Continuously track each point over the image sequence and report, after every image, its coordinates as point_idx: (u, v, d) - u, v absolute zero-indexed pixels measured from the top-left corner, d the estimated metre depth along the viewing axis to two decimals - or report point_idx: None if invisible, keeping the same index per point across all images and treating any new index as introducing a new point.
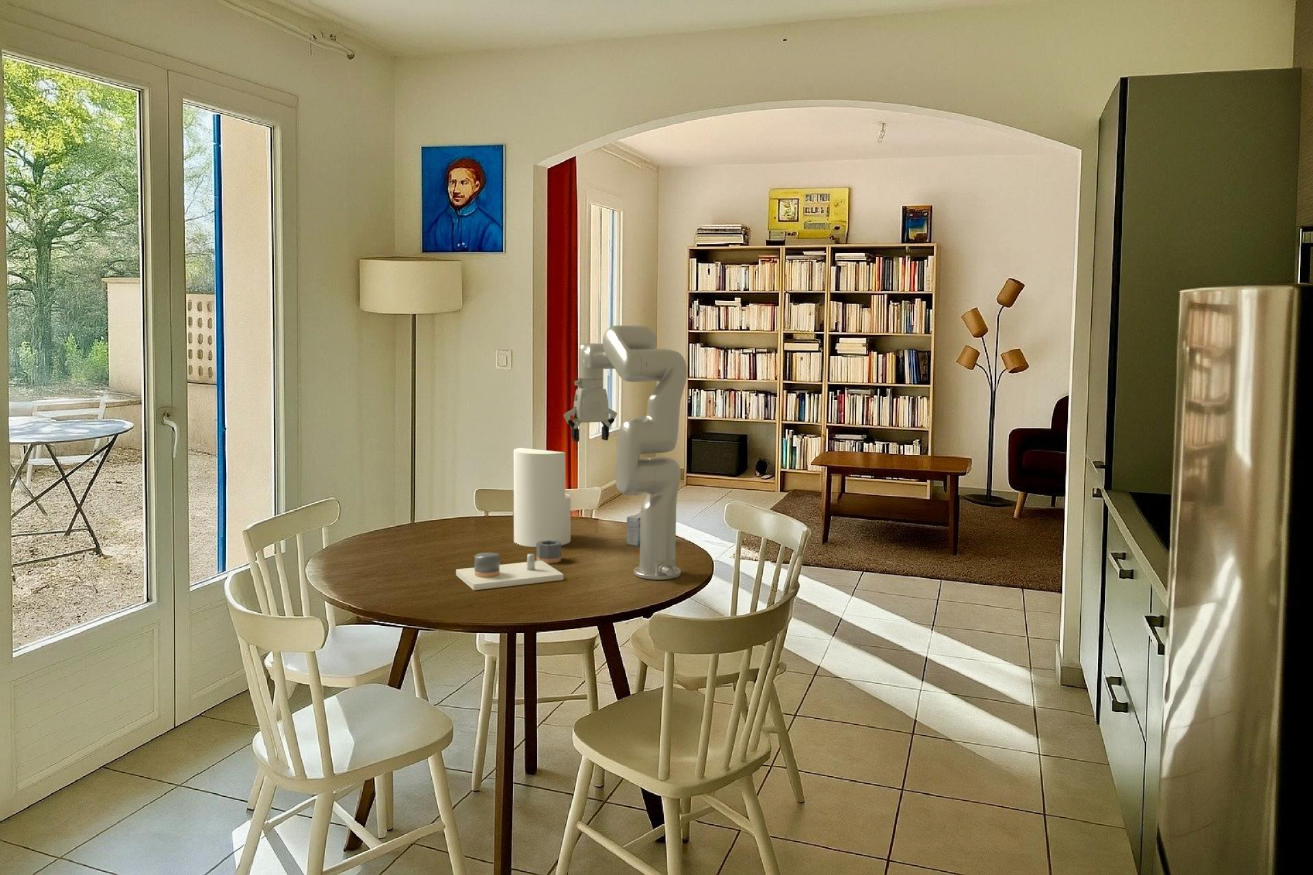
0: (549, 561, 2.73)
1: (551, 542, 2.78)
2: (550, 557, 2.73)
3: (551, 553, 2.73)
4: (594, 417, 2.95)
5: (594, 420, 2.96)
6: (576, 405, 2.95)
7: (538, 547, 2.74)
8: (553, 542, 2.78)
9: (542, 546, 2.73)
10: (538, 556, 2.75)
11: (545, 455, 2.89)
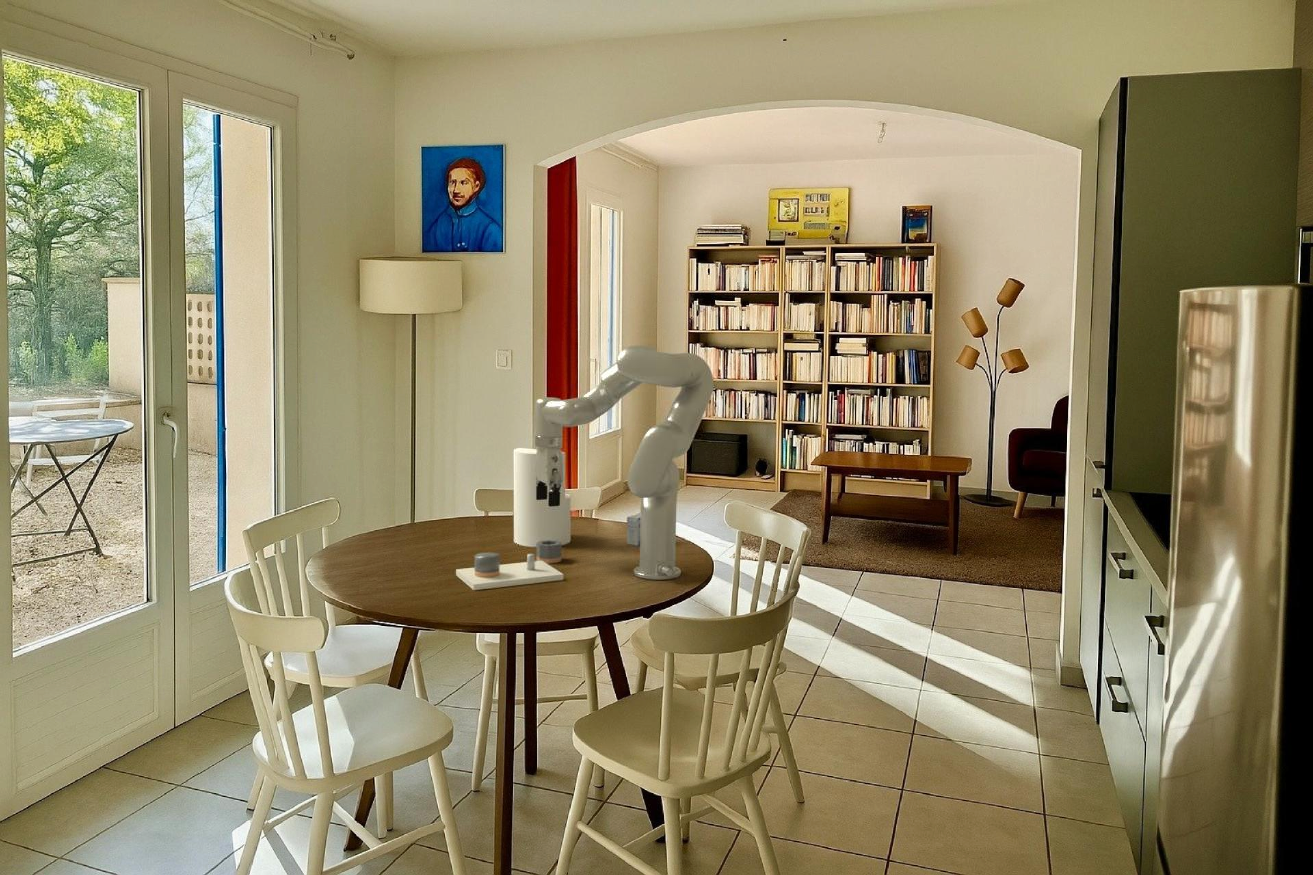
0: (549, 561, 2.73)
1: (551, 542, 2.78)
2: (550, 557, 2.73)
3: (551, 553, 2.73)
4: None
5: None
6: (557, 466, 2.69)
7: (538, 547, 2.74)
8: (553, 542, 2.78)
9: (542, 546, 2.73)
10: (538, 556, 2.75)
11: None
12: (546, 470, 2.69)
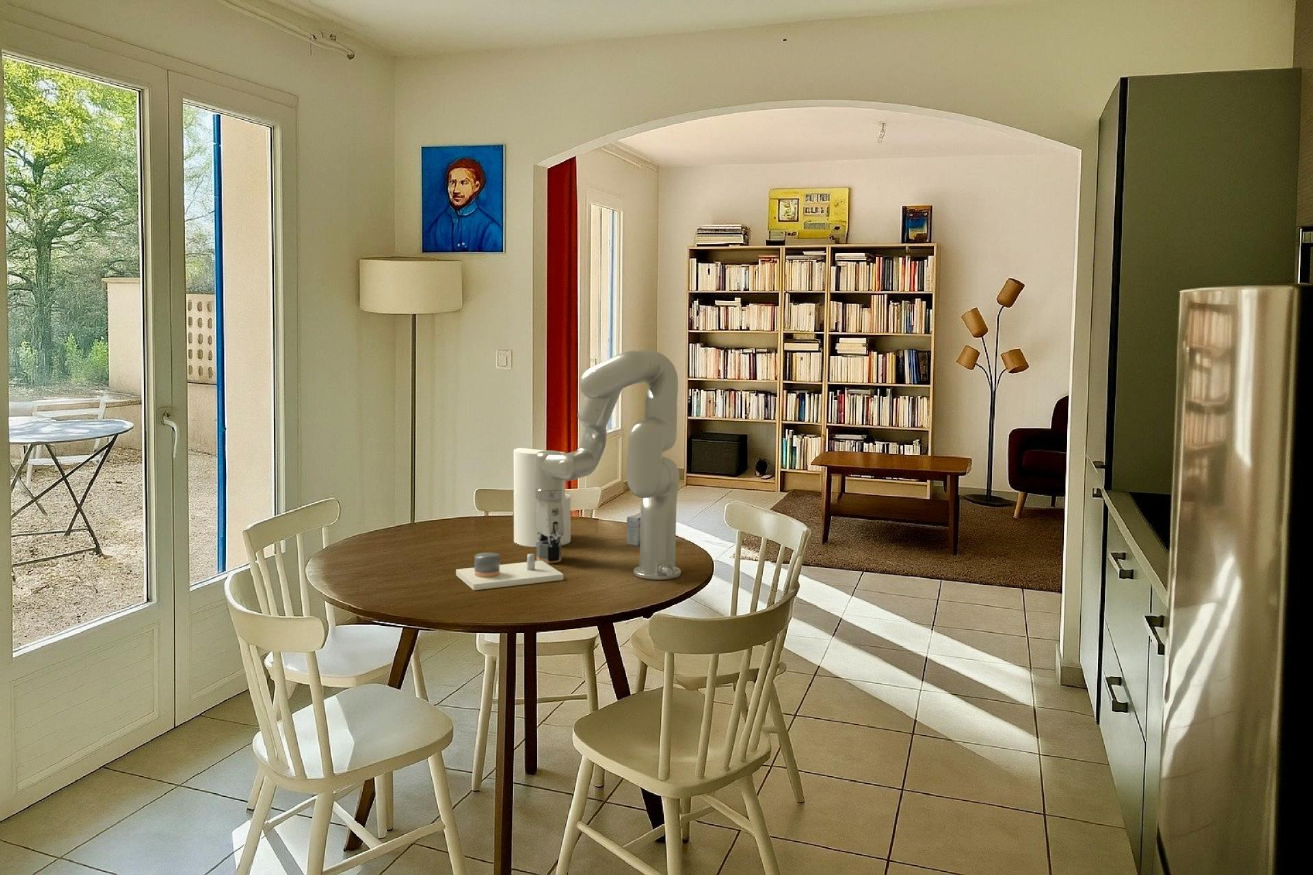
0: (549, 561, 2.73)
1: None
2: None
3: None
4: None
5: None
6: (557, 521, 2.71)
7: (538, 547, 2.74)
8: None
9: (542, 546, 2.73)
10: (538, 556, 2.75)
11: None
12: (547, 523, 2.71)
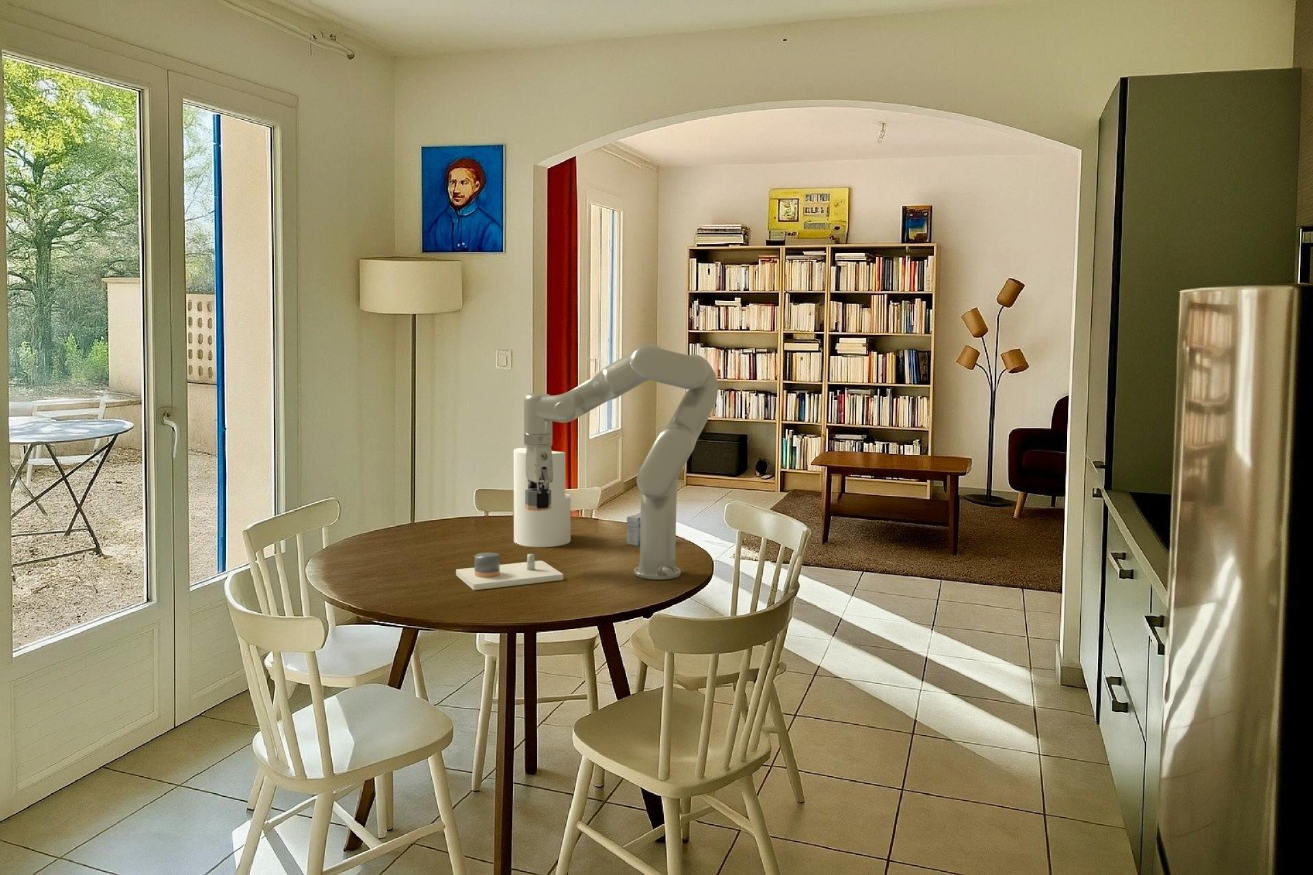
0: None
1: None
2: None
3: None
4: None
5: None
6: (546, 466, 2.59)
7: (527, 494, 2.63)
8: None
9: (531, 493, 2.62)
10: (527, 503, 2.63)
11: None
12: (535, 469, 2.59)
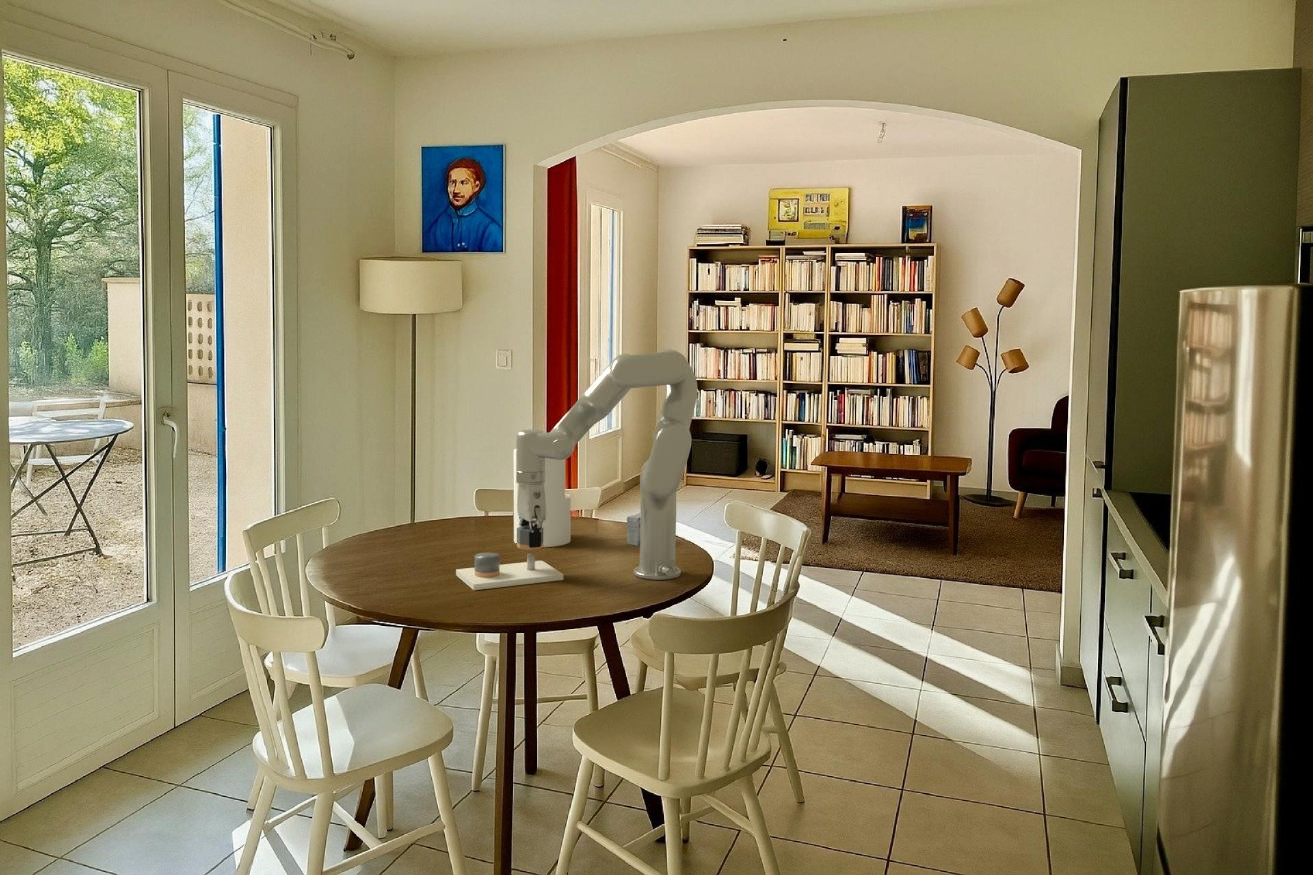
0: None
1: None
2: None
3: None
4: None
5: None
6: (539, 505, 2.54)
7: (519, 532, 2.57)
8: None
9: (523, 531, 2.56)
10: (518, 542, 2.58)
11: None
12: (528, 507, 2.54)
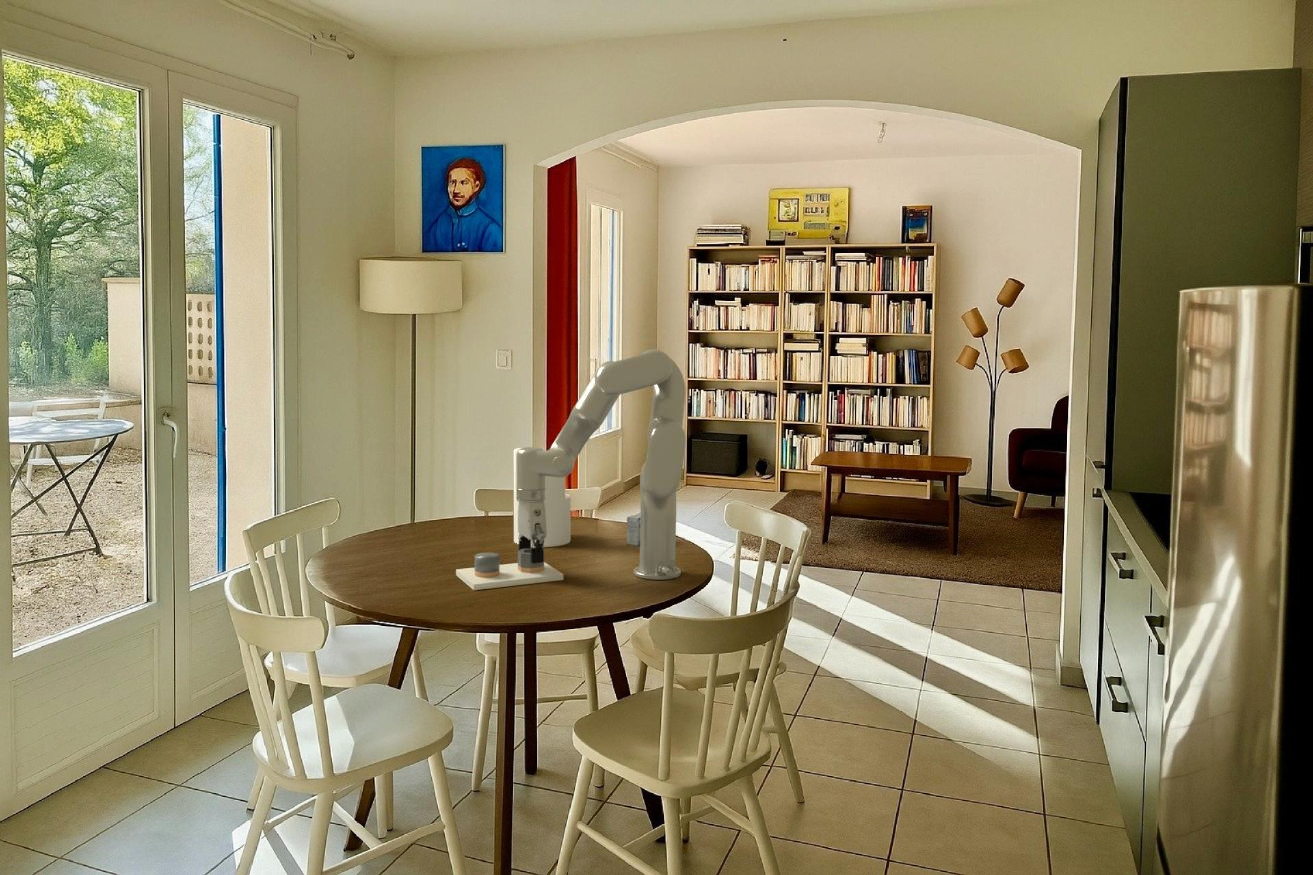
0: (531, 570, 2.57)
1: None
2: (532, 566, 2.57)
3: None
4: None
5: None
6: (539, 521, 2.55)
7: (520, 555, 2.58)
8: None
9: (523, 554, 2.57)
10: (519, 565, 2.59)
11: None
12: (528, 525, 2.54)
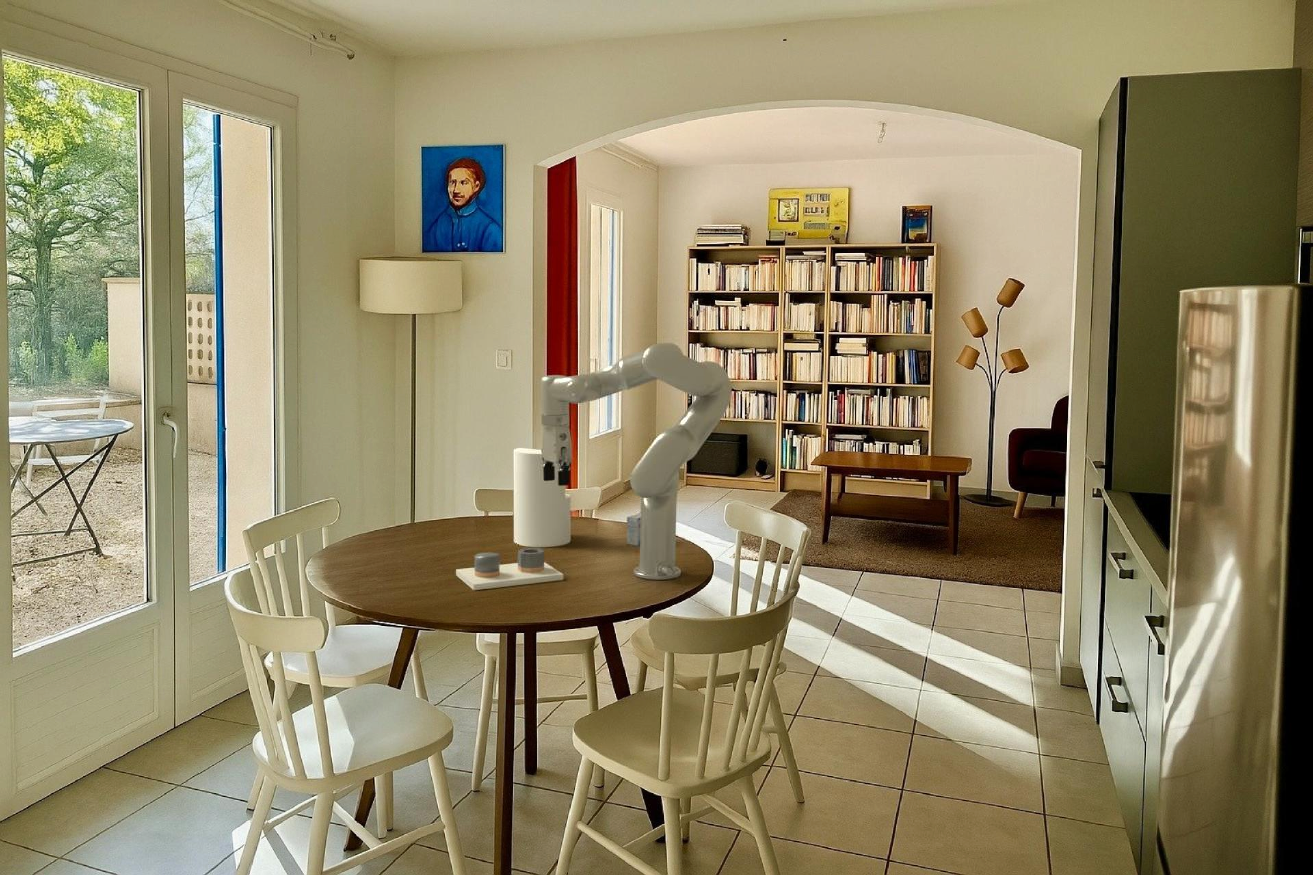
0: (531, 570, 2.57)
1: (533, 550, 2.62)
2: (532, 566, 2.57)
3: (533, 562, 2.57)
4: None
5: None
6: (565, 444, 2.64)
7: (520, 555, 2.58)
8: (535, 550, 2.62)
9: (523, 554, 2.57)
10: (519, 565, 2.59)
11: None
12: (555, 449, 2.64)
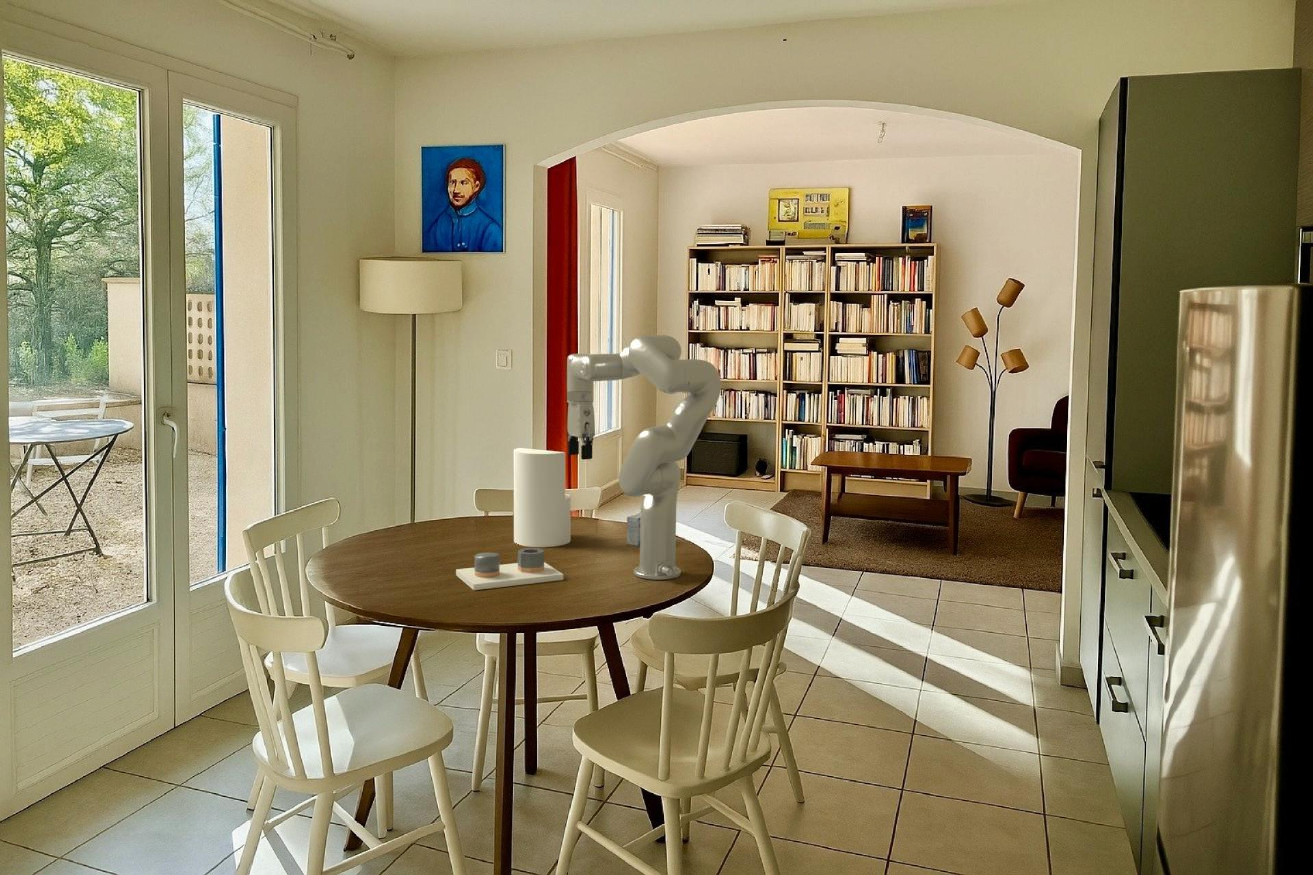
0: (531, 570, 2.57)
1: (533, 550, 2.62)
2: (532, 566, 2.57)
3: (533, 562, 2.57)
4: None
5: None
6: (589, 420, 2.76)
7: (520, 555, 2.58)
8: (535, 550, 2.62)
9: (523, 554, 2.57)
10: (519, 565, 2.59)
11: (545, 455, 2.89)
12: (579, 424, 2.76)
